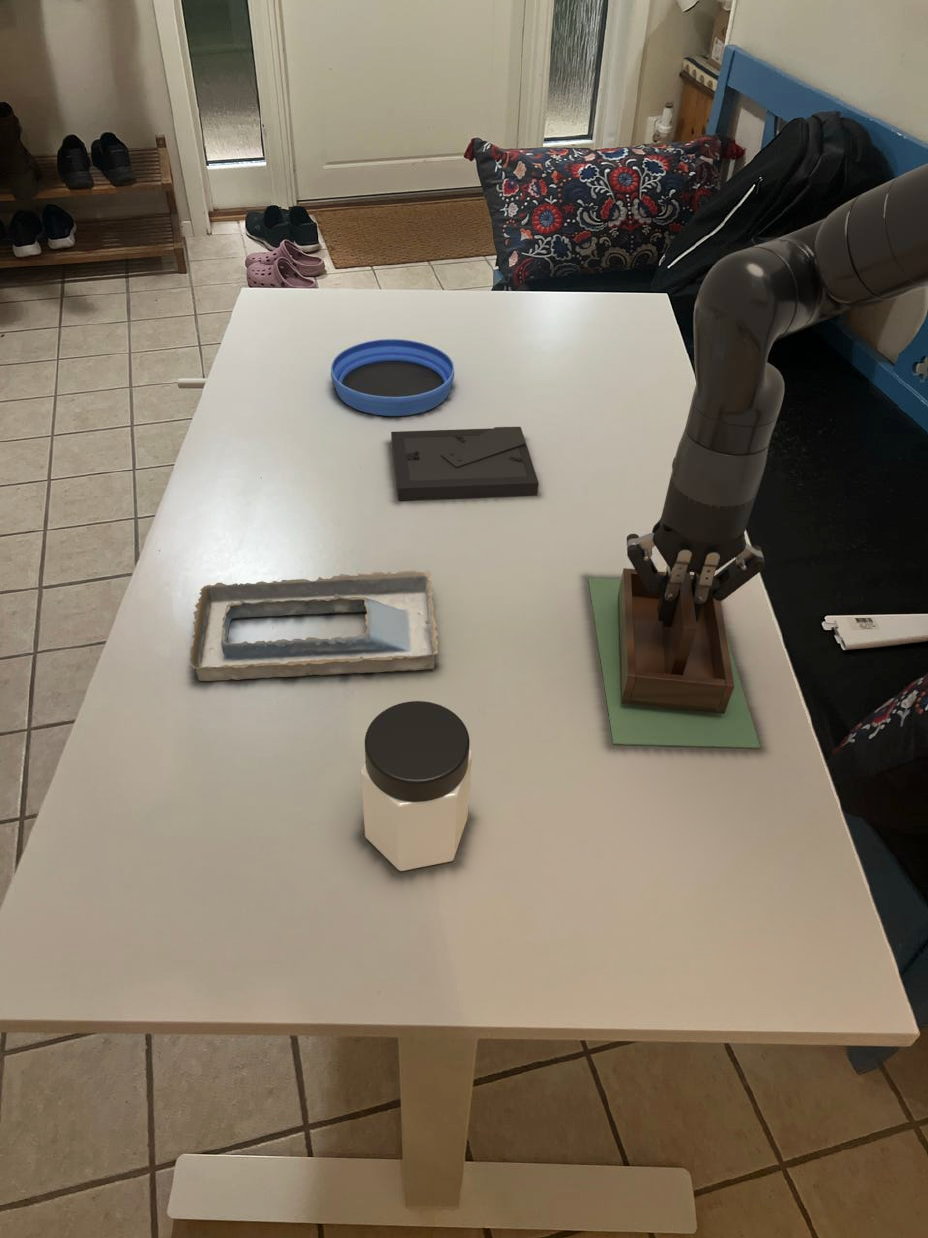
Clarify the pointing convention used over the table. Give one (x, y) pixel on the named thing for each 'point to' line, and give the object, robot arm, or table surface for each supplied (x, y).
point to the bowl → (392, 377)
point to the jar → (416, 783)
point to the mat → (659, 722)
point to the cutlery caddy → (672, 650)
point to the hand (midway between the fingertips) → (675, 622)
